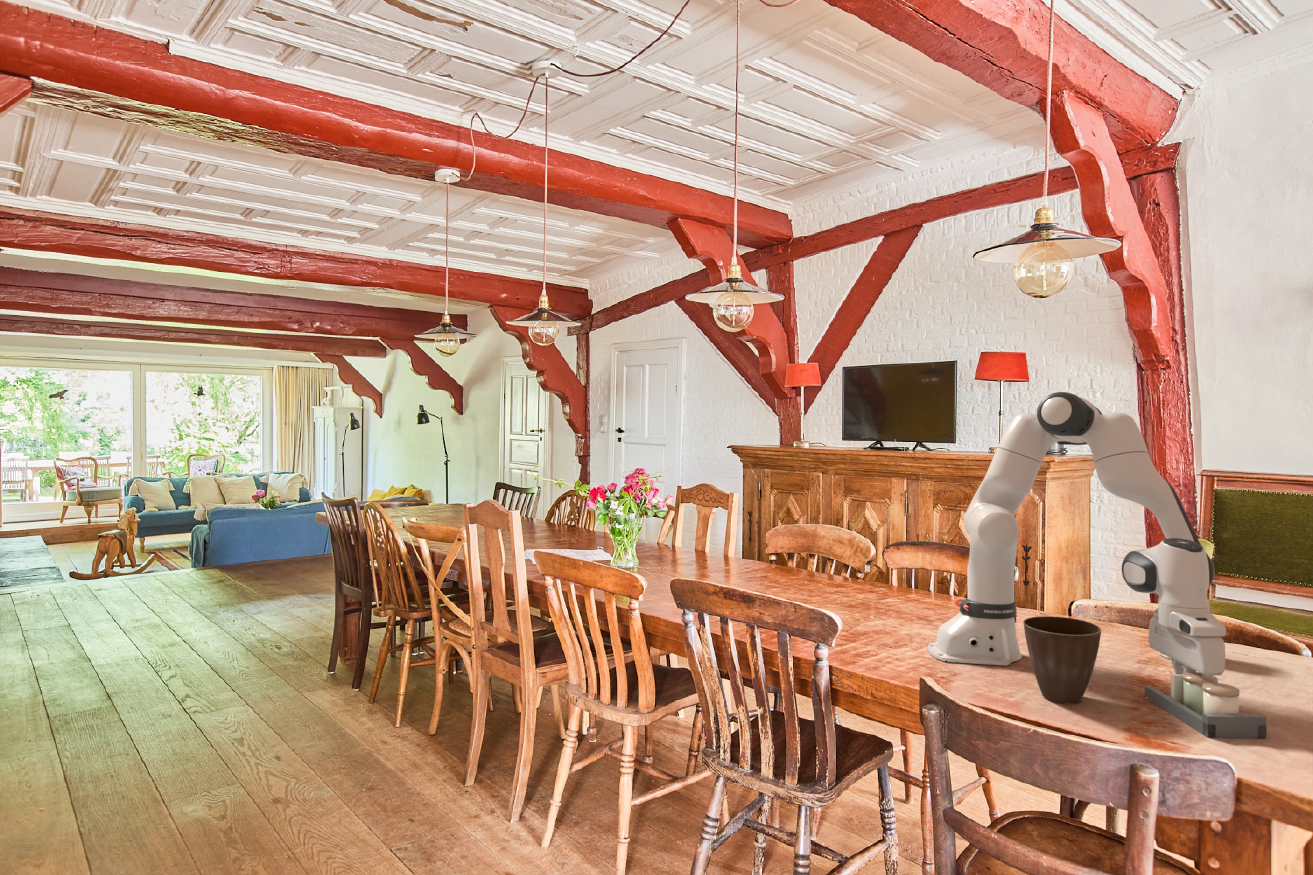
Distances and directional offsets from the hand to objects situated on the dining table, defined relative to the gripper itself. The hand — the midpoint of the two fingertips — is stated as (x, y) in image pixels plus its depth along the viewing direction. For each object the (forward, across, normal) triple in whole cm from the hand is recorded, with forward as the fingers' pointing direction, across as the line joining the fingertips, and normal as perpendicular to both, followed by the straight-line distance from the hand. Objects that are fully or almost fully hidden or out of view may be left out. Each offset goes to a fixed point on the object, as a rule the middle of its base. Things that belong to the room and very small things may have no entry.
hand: (1184, 682), depth 160 cm
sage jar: (+5, +6, 0) cm, 7 cm away
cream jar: (+5, +12, 0) cm, 13 cm away
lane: (+5, +7, 0) cm, 8 cm away
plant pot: (+5, -4, -23) cm, 24 cm away
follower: (+4, +1, 0) cm, 5 cm away
